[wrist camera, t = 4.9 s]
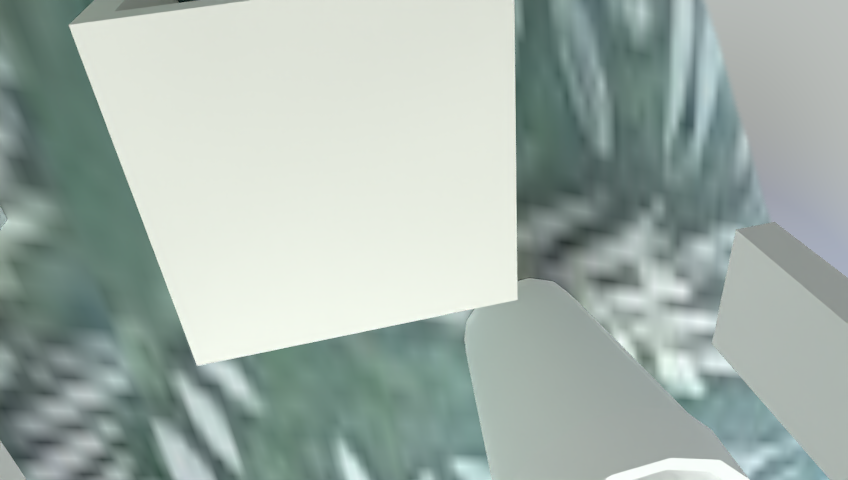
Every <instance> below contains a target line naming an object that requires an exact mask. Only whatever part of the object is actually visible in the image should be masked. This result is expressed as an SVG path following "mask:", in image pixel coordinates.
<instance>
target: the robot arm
mask: <svg viewBox="0 0 848 480" xmlns="http://www.w3.org/2000/svg"><path fill="white" fill-rule="evenodd" d="M712 345H713V346H714V347H715V348H716V349H717V350H718V351H719V353H720V354H721V355H722V356H723V357H724V358H725V359H726V361H727V362H728V363H729V364H730V365H731V366H732V367H733V369H734V370H735V371H736V372H737V373H738V374H739V376H740V377H741V378H742V379H743V380H744V381H745V382H746V384H747V385H748V386H749V387H750V388H751V389H752V390H753V392H754V393H755V394H756V395H757V396H758V397H759V398H760V400H761V401H762V402H763V403H764V404H765V405H766V407H767V408H768V409H769V410H770V411H771V412H772V413H773V415H774V416H775V417H776V418H777V419H778V420H779V421H780V423H781V424H782V425H783V426H784V427H785V428H786V429H787V431H788V432H789V433H790V434H791V435H792V436H793V438H794V439H795V440H796V441H797V442H798V443H799V444H800V446H801V447H802V448H803V449H804V450H805V451H806V452H807V454H808V455H809V456H810V457H811V458H812V459H813V460H814V462H815V463H816V464H817V465H818V466H819V467H820V469H821V470H822V471H823V472H824V473H825V474H826V475H827V477H828V478H829V479H830V480H848V278H847V277H846V276H844V275H843V274H842V273H841V272H839V271H838V270H837V269H835V268H834V267H833V266H831V265H830V264H829V263H827V262H826V261H825V260H823V259H822V258H821V257H820V256H818V255H817V254H815V253H814V252H813V251H812V250H811V249H809V248H808V247H807V246H805V245H804V244H803V243H801V242H800V241H799V240H797V239H796V238H795V237H793V236H792V235H791V234H790V233H788V232H787V231H786V230H784V229H783V228H782V227H780V226H779V225H778V224H777V223H775V222H772V223H767V224H762V225H757V226H752V227H746V228H741V229H736V232H735V237H734V241H733V246H732V251H731V256H730V260H729V265H728V270H727V274H726V279H725V284H724V289H723V293H722V298H721V303H720V308H719V312H718V317H717V322H716V327H715V331H714V336H713V341H712ZM0 480H26V478H25V477H24V475H23V474H22V472H21V471H20V469H19V468H18V466H17V465H16V463H15V462H14V460H13V459H12V457H11V456H10V454H9V453H8V451H7V450H6V448H5V447H4V445H3V444H2V442H1V441H0Z"/></svg>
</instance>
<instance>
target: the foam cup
mask: <svg viewBox="0 0 848 480" xmlns="http://www.w3.org/2000/svg"><path fill="white" fill-rule="evenodd" d="M517 298H518V300H514V301H509V302H505V303H500V304H495V305H490V306H485V307H480V308H475V309H474V311H473V312H472V313H471V315H470V316H469V318H468V319H467V322H466V330H465V337H464V343H465V345H466V349H465V350H466V355H467V360H468V365H469V370H470V375H471V380H472V385H473V390H474V395H475V399H476V404H477V409H478V414H479V419H480V424H481V429H482V434H483V439H484V444H485V449H486V453H487V458H488V463H489V468H490V473H491V478H492V480H749V478H748V477H747V476H746V474H745V473H744V472H743V470H742V469H741V468H740V466H739V465H738V464H737V463H736V461H735V460H734V459H733V457H732V456H731V455H730V453H729V452H728V451H727V449H726V448H725V447H724V445H723V444H722V443H721V442H720V440H719V439H718V438H717V436H716V435H715V434H714V432H713V431H712V430H711V429H710V428H708V427H707V426H705V425H704V424H702V423H701V422H700V421H698V420H697V419H695V418H694V417H692V416H691V415H690V414H688V413H687V412H686V411H685V410H684V408H683V407H682V406H681V405H680V404H679V403H678V402H677V401H676V400H675V399H674V398H673V397H672V396H671V395H670V394H669V393H668V392H667V391H666V390H665V389H664V388H663V387H662V386H661V385H660V384H659V383H658V382H657V381H656V380H655V379H654V378H653V377H652V376H651V375H650V374H649V373H648V372H647V371H646V370H645V369H644V368H643V367H642V366H641V365H640V364H639V363H638V362H637V361H636V360H635V359H634V358H633V357H632V356H631V355H630V354H629V353H628V352H627V351H626V350H625V349H624V348H623V347H622V346H621V345H620V344H619V343H618V342H617V341H616V339H615V338H614V337H613V336H612V335H611V334H610V333H609V332H608V331H607V330H606V329H605V328H604V327H603V326H602V325H601V324H600V323H599V322H598V321H597V320H596V319H595V318H594V317H593V316H592V315H591V314H590V313H589V312H588V311H587V310H586V309H585V308H584V307H583V306H582V305H581V304H580V303H579V302H578V301H577V300H576V299H575V298H573V297H572V296H571V295H570V293H568V292H567V291H566V290H564V289H563V288H562V287H560V286H559V285H558V284H556V283H555V282H554V281H548V280H541V279H533V278H527V279H523V280H519V281H517Z"/></svg>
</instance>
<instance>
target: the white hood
mask: <svg viewBox="0 0 848 480" xmlns="http://www.w3.org/2000/svg"><path fill="white" fill-rule="evenodd" d="M69 27H70V30H71V33H72V35H73V38H74V40H75V43H76V46H77V48H78V51H79V54H80V56H81V59H82V62H83V64H84V67H85V70H86V72H87V75H88V78H89V80H90V83H91V86H92V88H93V91H94V94H95V96H96V99H97V101H98V104H99V107H100V109H101V112H102V115H103V117H104V120H105V123H106V125H107V128H108V131H109V133H110V136H111V139H112V141H113V144H114V147H115V149H116V152H117V155H118V157H119V160H120V162H121V165H122V168H123V170H124V173H125V176H126V178H127V181H128V184H129V186H130V189H131V192H132V194H133V197H134V200H135V202H136V205H137V208H138V210H139V213H140V216H141V218H142V221H143V223H144V226H145V229H146V231H147V234H148V237H149V239H150V242H151V245H152V247H153V250H154V253H155V255H156V258H157V261H158V263H159V266H160V269H161V271H162V274H163V276H164V279H165V282H166V284H167V287H168V290H169V292H170V295H171V298H172V300H173V303H174V306H175V308H176V311H177V314H178V316H179V319H180V322H181V324H182V327H183V330H184V332H185V335H186V337H187V340H188V343H189V345H190V348H191V351H192V353H193V356H194V359H195V361H196V364H197V366H199V365H204V364H209V363H214V362H219V361H224V360H228V359H233V358H238V357H243V356H248V355H253V354H257V353H262V352H267V351H272V350H277V349H282V348H287V347H291V346H296V345H301V344H306V343H311V342H316V341H320V340H325V339H330V338H335V337H340V336H345V335H349V334H354V333H359V332H364V331H369V330H374V329H379V328H383V327H388V326H393V325H398V324H403V323H408V322H412V321H417V320H422V319H427V318H432V317H437V316H442V315H446V314H451V313H456V312H461V311H466V310H471V309H475V308H480V307H485V306H490V305H495V304H500V303H505V302H509V301H514V300H518V298H517V204H516V110H515V15H514V0H197V1H189V2H182V3H179V2H178V0H94V1H93V2H92V3H91V4H90V5H89V6H88V7H87V8H86V9H85V10H84V11H83V12H82V13H81V14H79V15H78V16H77V17H76V18H75V19H74V20H73V21H72V22H71V23H70V24H69Z"/></svg>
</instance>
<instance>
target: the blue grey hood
mask: <svg viewBox="0 0 848 480" xmlns="http://www.w3.org/2000/svg"><path fill="white" fill-rule="evenodd" d="M6 221H7V218H6V216H5V214H4V212H3V210H2V208H1V206H0V230H1V228H2V227H3V225H4V224H5V222H6Z"/></svg>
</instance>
